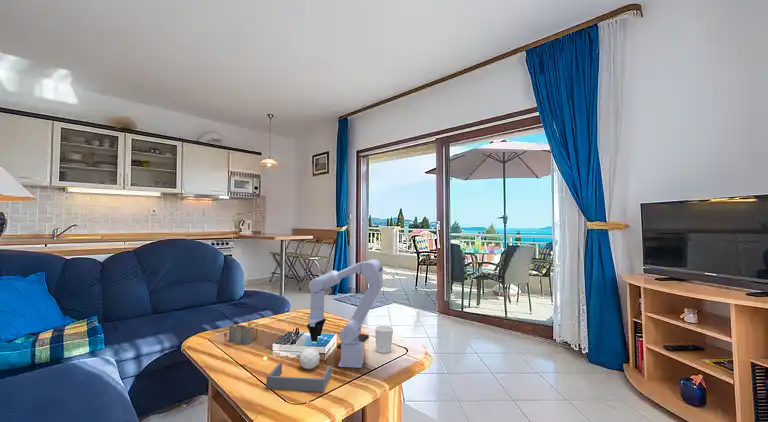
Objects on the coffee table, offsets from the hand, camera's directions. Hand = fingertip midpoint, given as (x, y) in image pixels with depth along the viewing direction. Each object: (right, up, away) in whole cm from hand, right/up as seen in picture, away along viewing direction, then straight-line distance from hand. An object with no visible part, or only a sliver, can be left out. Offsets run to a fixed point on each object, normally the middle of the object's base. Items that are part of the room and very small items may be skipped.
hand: (316, 338), depth 142 cm
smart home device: (+14, -10, +20) cm, 26 cm away
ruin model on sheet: (-39, -9, +17) cm, 44 cm away
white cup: (+29, -10, +11) cm, 32 cm away
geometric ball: (-1, -8, -9) cm, 12 cm away
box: (-2, -8, -21) cm, 23 cm away
